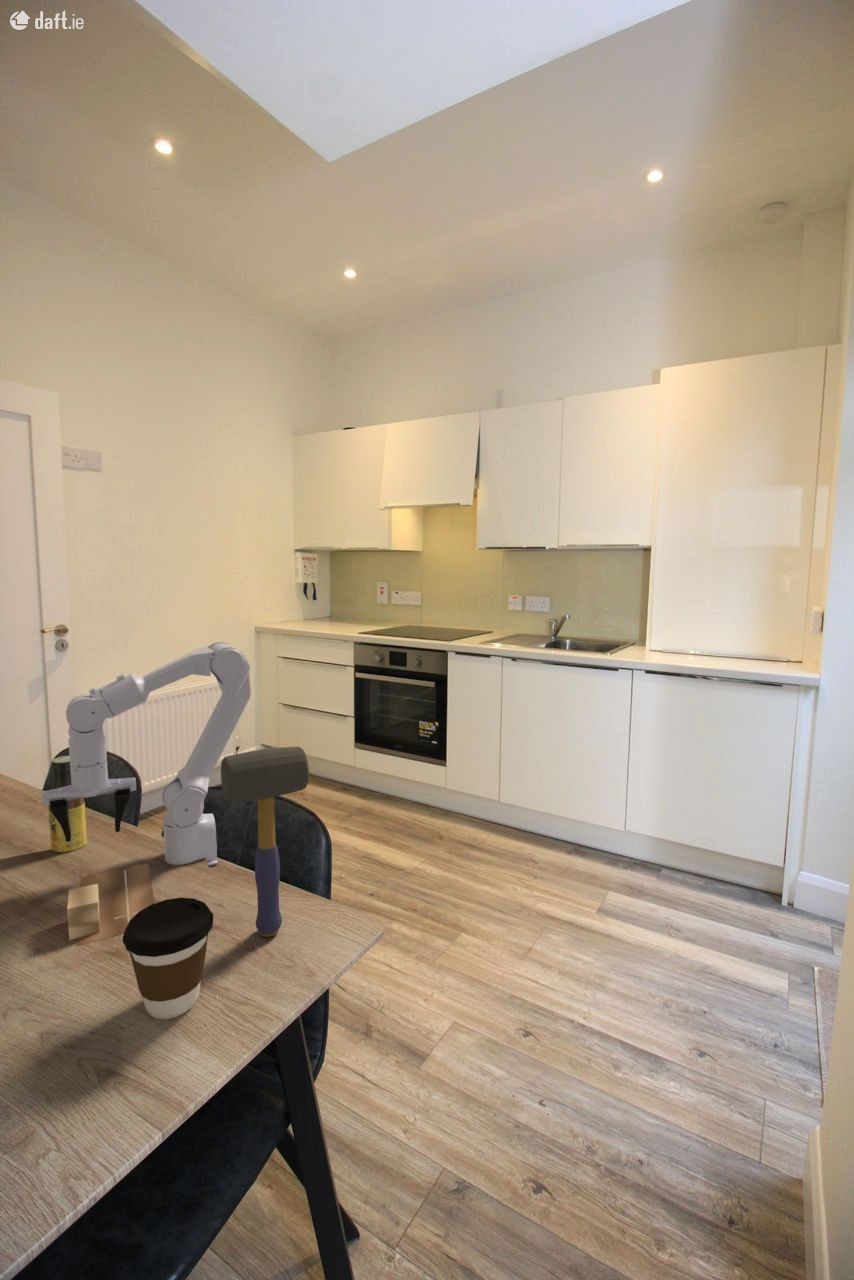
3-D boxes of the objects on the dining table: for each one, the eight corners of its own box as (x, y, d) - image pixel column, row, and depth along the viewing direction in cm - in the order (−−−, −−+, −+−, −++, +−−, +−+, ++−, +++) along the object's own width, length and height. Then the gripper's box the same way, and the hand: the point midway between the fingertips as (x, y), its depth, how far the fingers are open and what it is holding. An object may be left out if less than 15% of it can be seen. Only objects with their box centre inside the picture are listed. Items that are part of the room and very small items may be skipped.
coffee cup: (190, 963, 85) (187, 886, 84) (232, 998, 79) (229, 915, 77) (112, 1005, 77) (107, 921, 76) (151, 1049, 70) (146, 957, 69)
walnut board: (148, 870, 111) (148, 862, 111) (158, 933, 92) (157, 924, 92) (82, 884, 106) (81, 877, 106) (77, 955, 87) (77, 945, 87)
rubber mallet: (233, 958, 87) (226, 763, 83) (224, 930, 93) (217, 749, 90) (314, 933, 93) (311, 751, 89) (300, 909, 99) (297, 738, 95)
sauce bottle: (54, 848, 120) (47, 755, 117) (89, 843, 122) (83, 751, 120) (49, 863, 114) (42, 765, 111) (86, 857, 116) (79, 760, 114)
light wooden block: (100, 919, 95) (97, 883, 95) (100, 939, 90) (97, 902, 89) (71, 926, 94) (69, 889, 93) (69, 947, 88) (67, 909, 88)
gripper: (38, 775, 97) (44, 853, 99) (135, 762, 104) (139, 834, 106) (41, 763, 103) (46, 836, 105) (133, 751, 110) (136, 819, 112)
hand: (93, 834), depth 106 cm, fingers open, 7 cm apart
